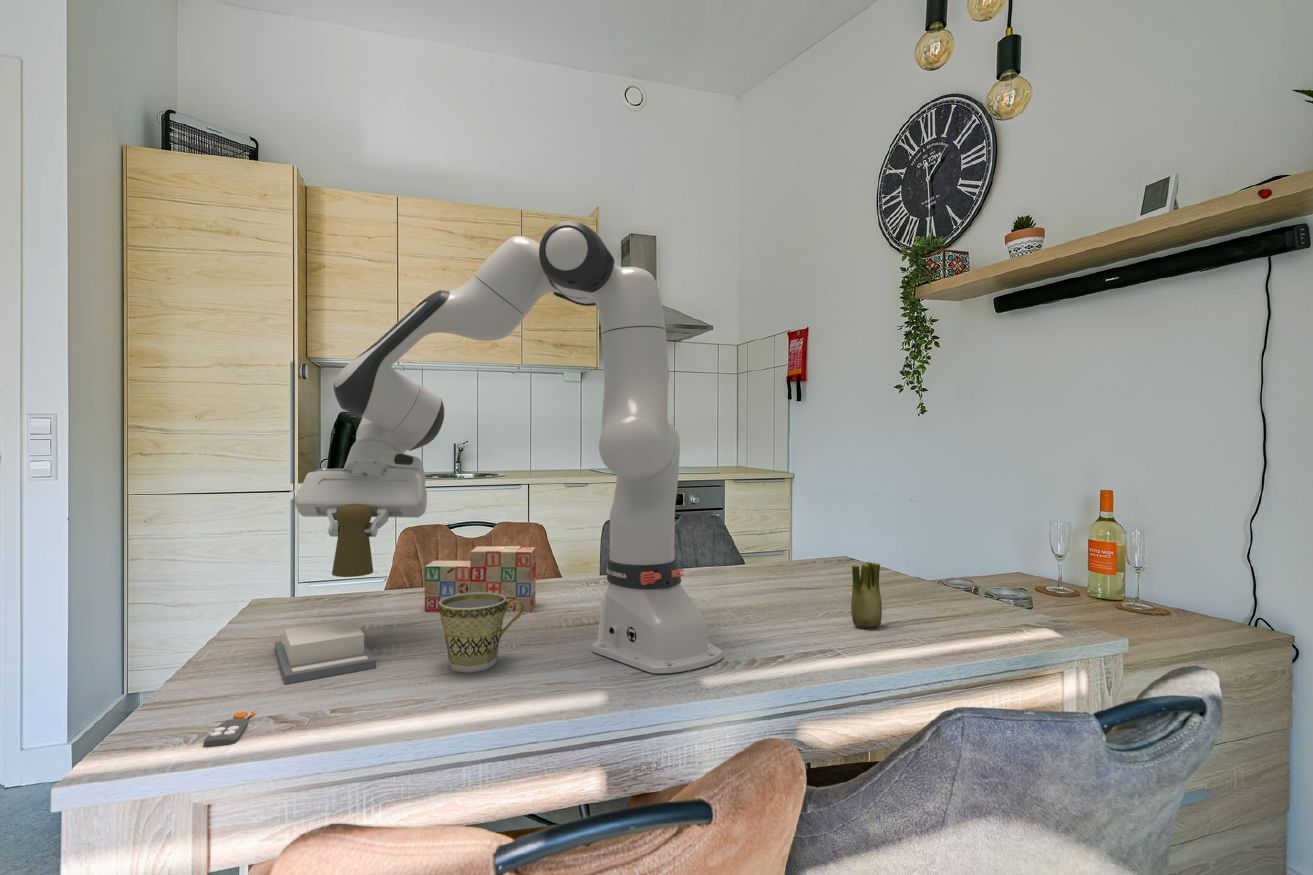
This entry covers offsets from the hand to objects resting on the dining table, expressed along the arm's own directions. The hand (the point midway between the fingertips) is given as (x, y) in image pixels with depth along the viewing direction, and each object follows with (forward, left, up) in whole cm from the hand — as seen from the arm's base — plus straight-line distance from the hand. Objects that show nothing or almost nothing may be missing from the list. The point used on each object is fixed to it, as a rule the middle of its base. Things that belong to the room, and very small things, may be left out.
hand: (352, 534), depth 104 cm
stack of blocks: (+17, -27, -20) cm, 38 cm away
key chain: (-19, +16, -20) cm, 32 cm away
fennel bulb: (-35, -82, -20) cm, 91 cm away
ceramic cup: (-15, -16, -20) cm, 29 cm away
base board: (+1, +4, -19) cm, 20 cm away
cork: (+1, 0, -6) cm, 7 cm away
